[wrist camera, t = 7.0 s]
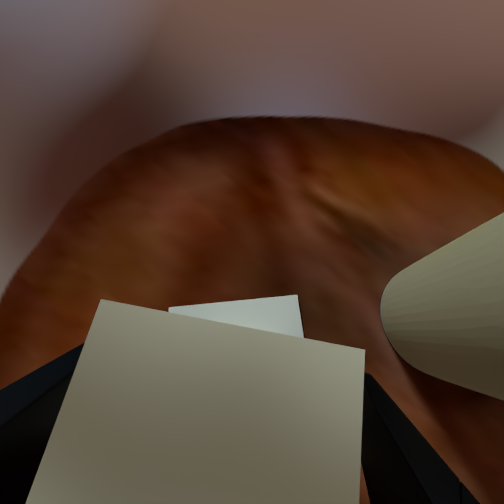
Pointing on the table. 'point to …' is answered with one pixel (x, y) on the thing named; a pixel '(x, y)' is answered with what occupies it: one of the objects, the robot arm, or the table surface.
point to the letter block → (204, 416)
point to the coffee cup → (453, 311)
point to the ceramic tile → (252, 314)
